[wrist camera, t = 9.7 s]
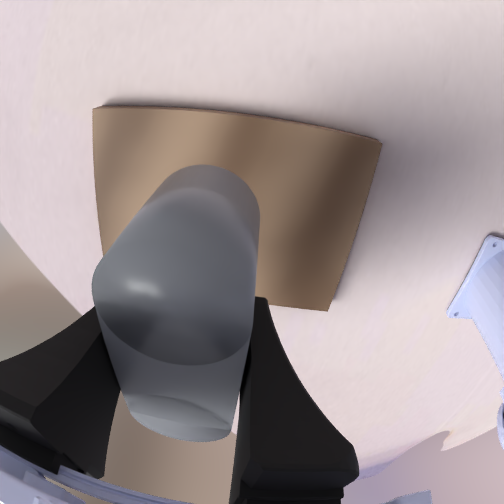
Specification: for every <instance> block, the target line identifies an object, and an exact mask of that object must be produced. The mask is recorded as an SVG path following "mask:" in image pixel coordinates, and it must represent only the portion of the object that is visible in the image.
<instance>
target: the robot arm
mask: <svg viewBox="0 0 504 504" xmlns="http://www.w3.org/2000/svg"><path fill="white" fill-rule="evenodd" d="M493 243H494V244H493ZM446 314H447V316H448V317H449V318H465V319H473V321H474V323H475V325H476V326H477V328H478V330H479V332H480V334H481V336H482V338H483V339H484V341H485V343H486V345H487V347H488V349H489V351H490V353H491V355H492V357H493V359H494V361H495V363H496V365H497V367H498V369H499V372H500V374H501V376H502V378H503V380H504V239H502V238H499V237H496V236H492V235H490V236H488V237H487V238H486V239H485V241H484V243H483V245H482V247H481V249H480V251H479V253H478V255H477V257H476V259H475V261H474V263H473V265H472V267H471V269H470V271H469V273H468V275H467V277H466V279H465V280H464V282H463V284H462V286H461V288H460V289H459V291H458V293H457V295H456V296H455V298H454V300H453V302H452V303H451V305H450V307H449V308H448V310H447V312H446ZM120 390H121V388H120V385H119V383H118V380H117V377H116V374H115V371H114V368H113V365H112V362H111V359H110V356H109V353H108V350H107V347H106V344H105V340H104V337H103V334H102V330H101V327H100V323H99V320H98V316H97V312H96V308H95V306H94V307H93V308H92V309H91V310H89V311H88V312H87V313H86V314H84V315H83V316H82V317H81V318H79V319H78V320H77V321H76V322H74V323H73V324H71V325H70V326H68V327H67V328H66V329H64V330H63V331H61V332H60V333H58V334H56V335H55V336H53V337H52V338H50V339H48V340H46V341H44V342H43V343H41V344H39V345H37V346H35V347H34V348H32V349H30V350H28V351H26V352H23V353H21V354H19V355H16V356H14V357H12V358H9V359H7V360H4V361H1V362H0V503H1V504H86V503H85V501H84V500H82V499H80V498H78V497H76V496H74V495H72V494H70V493H69V492H67V491H66V490H65V489H63V488H61V487H59V486H57V485H55V484H53V483H51V482H49V481H47V480H46V479H45V477H44V476H46V477H48V478H50V479H52V480H54V481H56V482H59V483H61V484H63V485H65V486H68V487H70V488H72V489H75V490H77V491H80V492H82V493H85V494H88V495H90V496H93V497H96V498H98V499H101V500H104V501H107V502H110V503H113V504H192V503H187V502H181V501H176V500H171V499H166V498H161V497H157V496H153V495H149V494H145V493H141V492H137V491H133V490H130V489H126V488H123V487H120V486H116V485H113V484H110V483H107V482H104V481H101V480H98V479H99V478H102V477H103V476H104V471H105V461H106V454H107V447H108V442H109V436H110V431H111V426H112V421H113V417H114V412H115V408H116V405H117V401H118V397H119V393H120ZM500 395H501V397H502V399H503V403H502V404H501V406H500V408H499V411H498V416H497V430H498V436H499V440H500V443H501V446H502V448H503V450H504V387H503V389H502V390H501V391H500ZM43 475H44V476H43ZM358 476H359V465H358V461H357V457H356V453H355V450H354V447H353V445H352V444H351V443H350V442H349V441H348V440H347V439H346V438H345V437H344V436H343V435H342V434H341V433H340V432H339V431H338V430H337V429H336V428H335V427H334V426H333V425H332V423H331V422H330V421H329V420H328V419H327V418H326V416H325V415H324V414H323V413H322V411H321V410H320V409H319V407H318V406H317V405H316V403H315V402H314V401H313V399H312V398H311V397H310V395H309V394H308V392H307V391H306V389H305V388H304V386H303V384H302V383H301V381H300V380H299V378H298V376H297V374H296V373H295V371H294V369H293V367H292V365H291V363H290V361H289V359H288V357H287V355H286V353H285V351H284V349H283V346H282V344H281V342H280V339H279V337H278V334H277V332H276V329H275V326H274V323H273V320H272V317H271V313H270V309H269V305H268V300H267V299H266V298H265V297H257V296H255V302H254V316H253V327H252V332H251V337H250V342H249V347H248V352H247V357H246V362H245V367H244V371H243V376H242V381H241V386H240V407H239V421H238V430H237V440H236V448H235V458H234V466H233V474H232V482H231V490H230V498H229V504H341V498H343V497H344V492H343V487H345V486H346V485H348V484H349V483H351V482H353V481H354V480H355V479H356V478H357V477H358ZM381 504H432V498H431V492H430V490H425V491H421V492H417V493H412V494H408V495H404V496H400V497H397V498H394V499H392V500H390V501H389V502H387V503H381Z"/></svg>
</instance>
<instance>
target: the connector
mask: <svg viewBox="0 0 504 504" xmlns="http://www.w3.org/2000/svg"><path fill="white" fill-rule="evenodd" d="M259 231H260V210H259V205H258V202H257V199H256V197H255V195H254V193H253V192H252V190H251V189H250V188H249V186H248V185H247V184H246V183H245V182H244V181H243V180H242V179H241V178H239V177H238V176H237V175H235V174H234V173H232V172H230V171H228V170H226V169H224V168H221V167H217V166H212V165H192V166H188V167H185V168H182V169H179V170H178V171H176V172H174V173H172V174H171V175H170V176H168V177H167V178H166V179H165V180H164V181H163V183H162V184H161V185H160V186H159V187H158V188H157V190H156V191H155V192H154V193H153V194H152V195H151V197H150V198H149V199H148V200H147V201H146V203H145V204H144V205H143V206H142V207H141V209H140V210H139V211H138V212H137V214H136V215H135V216H134V217H133V219H132V220H131V221H130V222H129V224H128V225H127V226H126V228H125V229H124V230H123V231H122V233H121V234H120V235H119V237H118V238H117V239H116V240H115V242H114V243H113V244H112V246H111V247H110V248H109V250H108V251H107V252H106V254H105V255H104V257H103V258H102V259H101V261H100V262H99V264H98V265H97V267H96V269H95V272H94V275H93V279H92V295H93V300H94V304H95V308H96V312H97V316H98V320H99V323H100V327H101V330H102V334H103V337H104V340H105V344H106V347H107V350H108V353H109V356H110V359H111V362H112V365H113V368H114V371H115V374H116V377H117V380H118V383H119V385H120V388H121V391H122V393H123V396H124V398H125V401H126V404H127V406H128V409H129V411H130V413H131V415H132V416H133V417H134V418H135V419H136V420H137V421H138V422H139V423H141V424H142V425H144V426H145V427H147V428H149V429H151V430H152V431H155V432H157V433H159V434H162V435H165V436H168V437H171V438H175V439H179V440H185V441H193V442H210V441H216V440H219V439H222V438H224V437H226V436H227V435H229V433H230V432H231V428H232V424H233V419H234V414H235V410H236V405H237V400H238V395H239V391H240V386H241V381H242V376H243V371H244V367H245V362H246V357H247V352H248V347H249V342H250V337H251V332H252V327H253V316H254V302H255V288H256V274H257V260H258V245H259Z"/></svg>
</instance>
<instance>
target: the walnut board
mask: <svg viewBox="0 0 504 504" xmlns="http://www.w3.org/2000/svg"><path fill="white" fill-rule="evenodd" d="M381 146H382V143H381V142H379V141H378V140H377V139H373V138H369V137H365V136H361V135H357V134H353V133H349V132H345V131H340V130H336V129H331V128H327V127H322V126H317V125H312V124H307V123H301V122H296V121H290V120H284V119H278V118H272V117H265V116H258V115H251V114H243V113H235V112H226V111H216V110H205V109H193V108H177V107H155V106H100V107H97V108H94V109H93V160H94V177H95V191H96V202H97V212H98V221H99V229H100V237H101V244H102V251H103V257H104V255H105V254H106V252H107V251H108V250H109V248H110V247H111V246H112V244H113V243H114V242H115V240H116V239H117V238H118V237H119V235H120V234H121V233H122V231H123V230H124V229H125V228H126V226H127V225H128V224H129V222H130V221H131V220H132V219H133V217H134V216H135V215H136V214H137V212H138V211H139V210H140V209H141V207H142V206H143V205H144V204H145V203H146V201H147V200H148V199H149V198H150V197H151V195H152V194H153V193H154V192H155V191H156V190H157V188H158V187H159V186H160V185H161V184H162V183H163V181H164V180H165V179H166V178H167V177H168V176H170V175H171V174H172V173H174V172H176V171H178V170H179V169H182V168H185V167H188V166H192V165H212V166H217V167H221V168H224V169H226V170H228V171H230V172H232V173H234V174H235V175H237V176H238V177H239V178H241V179H242V180H243V181H244V182H245V183H246V184H247V185H248V186H249V188H250V189H251V190H252V192H253V193H254V195H255V197H256V199H257V202H258V205H259V210H260V231H259V245H258V260H257V274H256V288H255V296H257V297H265V298H266V299H267V300H268V305H276V306H284V307H292V308H301V309H310V310H319V311H328V309H329V307H330V304H331V302H332V299H333V296H334V294H335V291H336V289H337V286H338V283H339V280H340V278H341V275H342V272H343V269H344V267H345V264H346V261H347V258H348V255H349V252H350V250H351V247H352V244H353V241H354V238H355V235H356V232H357V229H358V226H359V222H360V219H361V216H362V213H363V210H364V206H365V203H366V200H367V197H368V193H369V190H370V186H371V183H372V180H373V176H374V172H375V169H376V165H377V162H378V158H379V154H380V150H381Z"/></svg>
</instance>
